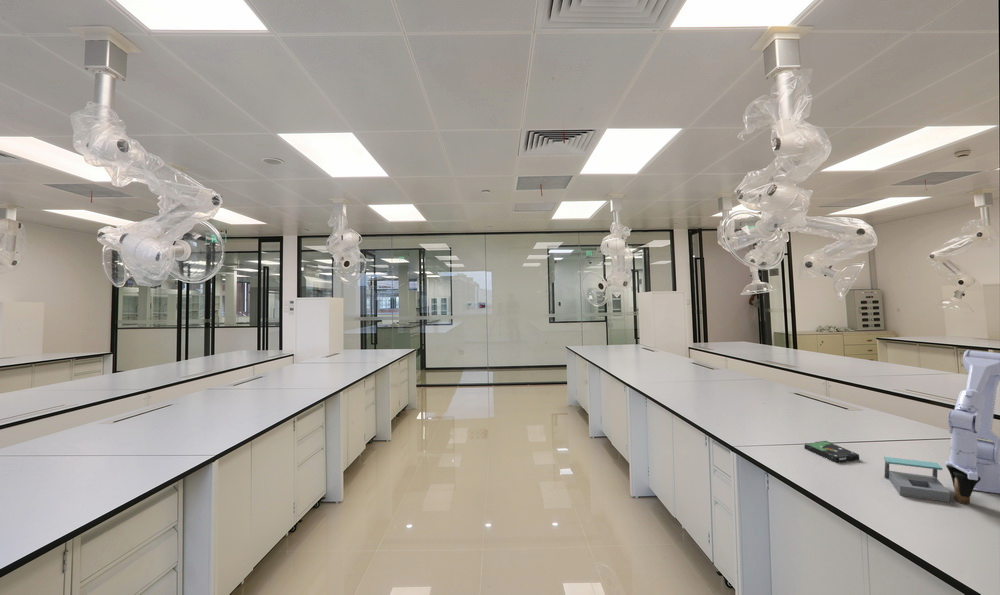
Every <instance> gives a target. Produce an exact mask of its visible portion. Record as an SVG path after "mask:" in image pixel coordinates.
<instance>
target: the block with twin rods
mask: <svg viewBox="0 0 1000 595" xmlns="http://www.w3.org/2000/svg"><path fill="white" fill-rule="evenodd" d="M883 459H884V478H885V479H889V471H890V465H896V466H899V465H900V466H906V467H915V468H922V469H932V474H931V476H934V477H936V478H937V479H938V470H939V471H943V467H942V466H941V465H940V464H939V463H938V462H932V461H923V460H915V459H906V458H899V457H891V456H889V457H888V456H884V457H883Z"/></svg>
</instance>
